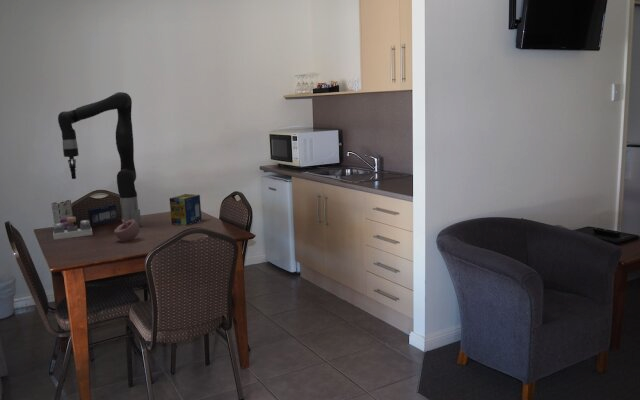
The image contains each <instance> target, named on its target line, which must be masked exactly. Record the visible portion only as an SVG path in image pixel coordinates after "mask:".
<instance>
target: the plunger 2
mask: <svg viewBox="0 0 640 400" xmlns="http://www.w3.org/2000/svg"><path fill="white" fill-rule="evenodd" d="M80 225H81V226H87V225H90V222H89V219H83V220H80Z"/></svg>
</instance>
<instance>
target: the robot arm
mask: <svg viewBox="0 0 640 400" xmlns="http://www.w3.org/2000/svg"><path fill="white" fill-rule="evenodd" d="M132 102H133V101H132V97H131V95H130V94H129V93H127V92H124V91H123V92H122V91H121V92H119V91H118V92H115V93H114V94H111V95H110V96H108V97H106V98H104V99H101V100H99V101H94V102H91V103H89V104H85V105H81V106H79V107H76V108H75V109H72V110H69V111H65V110H64V111H61V112H60V113H59V114H57V115H58V116H57V122H58V126H59V128H60V131H61V138H62V151H63V157H64V158H68V159H67V163H68V168H69V171H70V175H71V179H72V180H76V179H77V175H76V171H77V170H76V168H77V160H76V159H75V157H79V154H80V153H79V146H78V141H77V135H76V134H77V133H76V130H75V129H74V128H73V124H75V123H78V122H80V121H83V120H86V119H90V118H93V117H95V116H98V115H99V114H103V113H105V112H108V111H113V110H116V112H117V122H116V128H115V146H116V150H117V153H118V155H119V159H120V171H118V172H117V174H116V185H117V192H118V195H119V201H120V209H121V210H120V212H121V220H122V219H123V220H124V221H125V222H126V221H128V220H131V219H134V220H135V221H136V222H137V223H138V225H139V227H141V226H142V219H141V218H142V217H141V216H142V215H141V210H140V208H139V203H138V193H137V190H136V187H135V186H136V185H135V181H136V180H137V172H136V167H135V160H134V159H135V158H134V154H135V151H134V133H133V122H132V108H133V107H132V106H133V105H132V104H133V103H132ZM121 222H122V221H121ZM122 224H123V222H122Z"/></svg>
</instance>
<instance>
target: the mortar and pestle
mask: <svg viewBox="0 0 640 400" xmlns="http://www.w3.org/2000/svg"><path fill="white" fill-rule="evenodd" d="M121 222H123V223H122V224H119V225H118V226H117V227H116V228H115V229H114V231H113V232H114V235H115V236H116V238H117V239H119V240H121V241H123V242H129V241H132V240H134V239H135V238H136V237H138V235H139V233H140V226H139V225H138V223H137V222H136V221H135V220H134V219H131V220H128V221H126V222H125V221H124V220H123V219H122V218H121Z"/></svg>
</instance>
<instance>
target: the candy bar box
mask: <svg viewBox="0 0 640 400" xmlns="http://www.w3.org/2000/svg"><path fill="white" fill-rule="evenodd" d="M51 210H52V211H51V212H52V217H53V225H54V224H55V223H63V227H64V230H67V227H69V226H71V225H70V223H67V217H74V215H73V207H72V199H62V200H58V201H55V202H51ZM73 226H75V222H73Z"/></svg>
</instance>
